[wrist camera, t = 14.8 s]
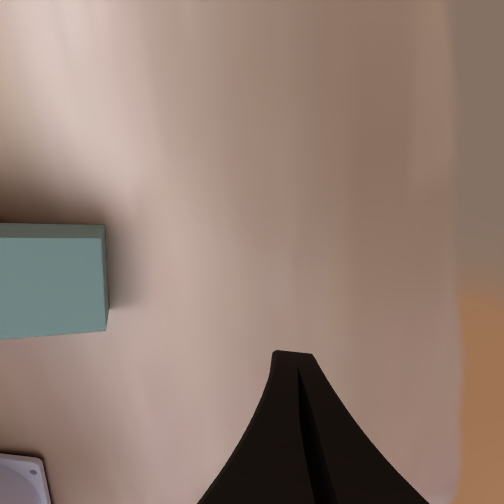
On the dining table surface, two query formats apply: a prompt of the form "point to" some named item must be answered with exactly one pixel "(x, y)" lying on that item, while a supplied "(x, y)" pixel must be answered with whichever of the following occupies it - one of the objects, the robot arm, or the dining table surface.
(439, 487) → the dining table surface
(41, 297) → the domino
